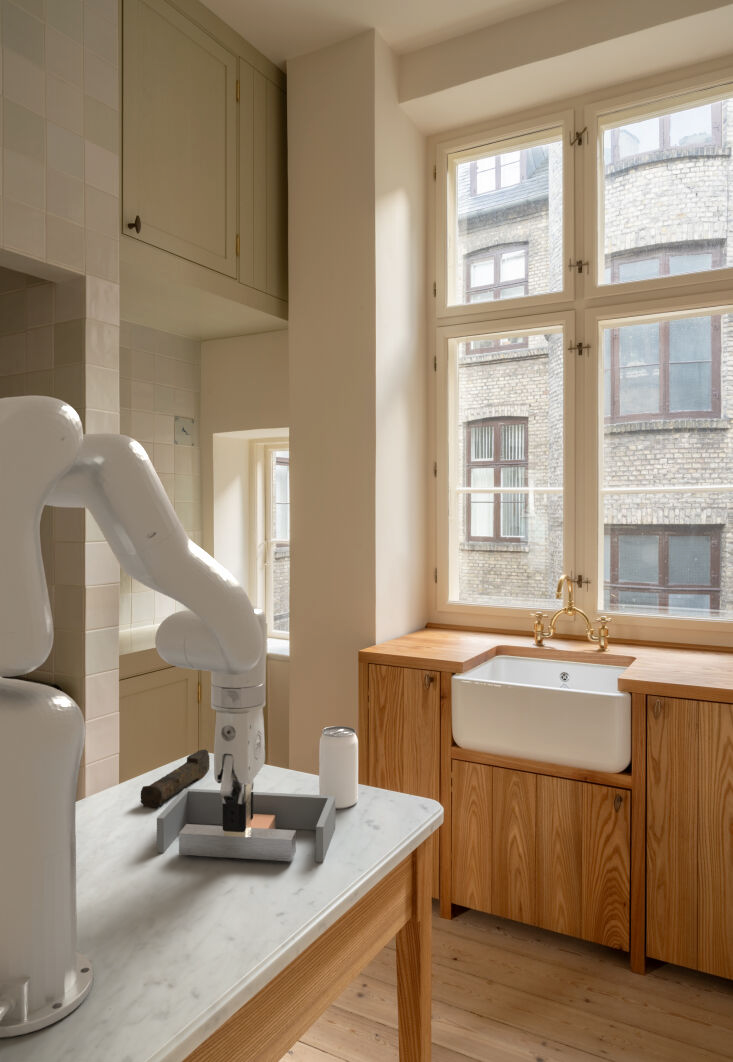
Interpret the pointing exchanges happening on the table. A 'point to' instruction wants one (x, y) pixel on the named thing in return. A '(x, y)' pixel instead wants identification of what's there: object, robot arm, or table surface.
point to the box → (285, 807)
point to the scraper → (238, 839)
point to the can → (339, 765)
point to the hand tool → (176, 780)
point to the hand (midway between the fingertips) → (238, 823)
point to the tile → (263, 821)
